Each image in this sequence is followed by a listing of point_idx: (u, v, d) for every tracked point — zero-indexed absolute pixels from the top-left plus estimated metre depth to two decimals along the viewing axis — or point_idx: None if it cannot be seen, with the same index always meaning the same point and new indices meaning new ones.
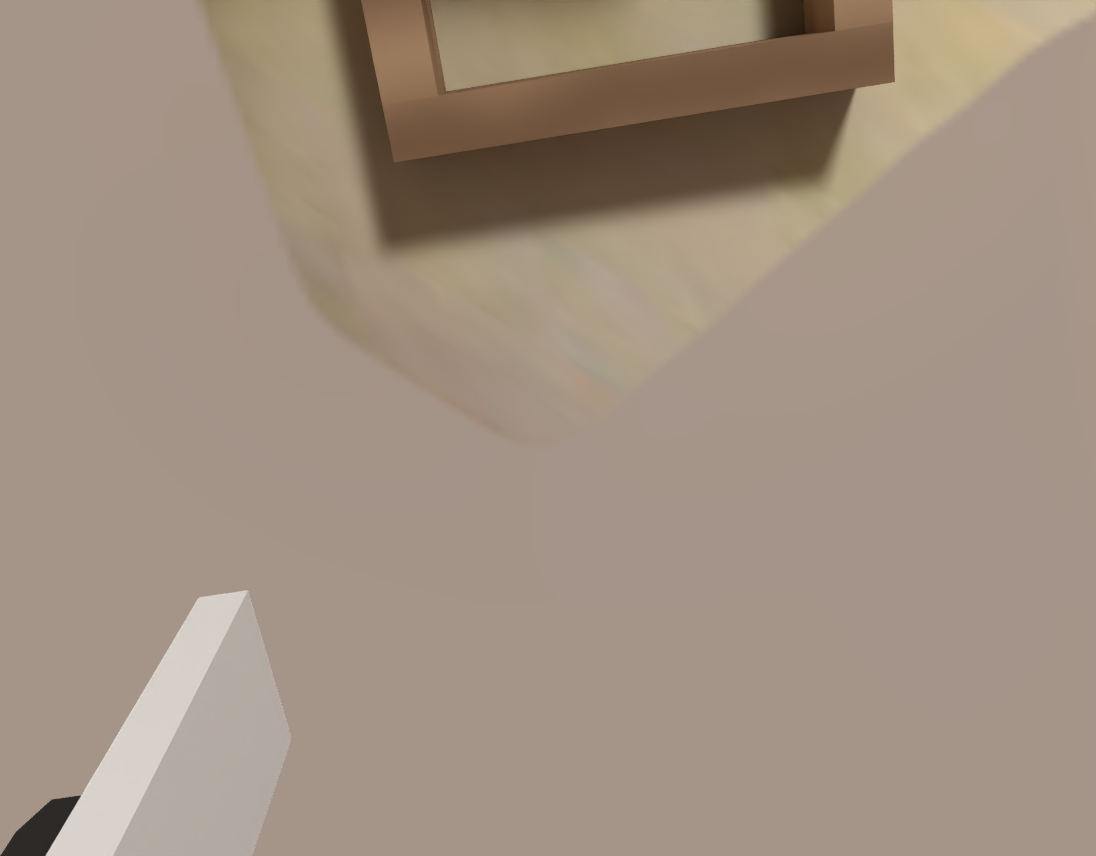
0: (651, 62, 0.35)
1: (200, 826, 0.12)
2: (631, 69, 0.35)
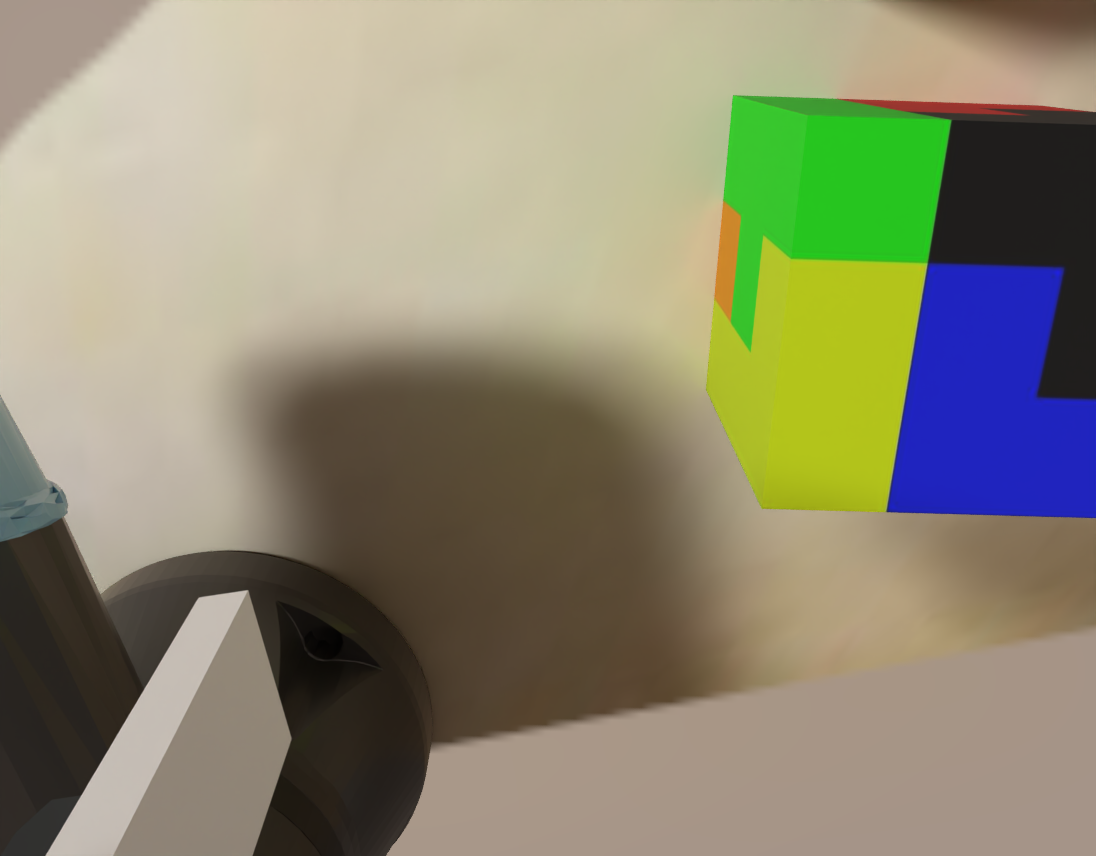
0: None
1: (200, 826, 0.12)
2: None
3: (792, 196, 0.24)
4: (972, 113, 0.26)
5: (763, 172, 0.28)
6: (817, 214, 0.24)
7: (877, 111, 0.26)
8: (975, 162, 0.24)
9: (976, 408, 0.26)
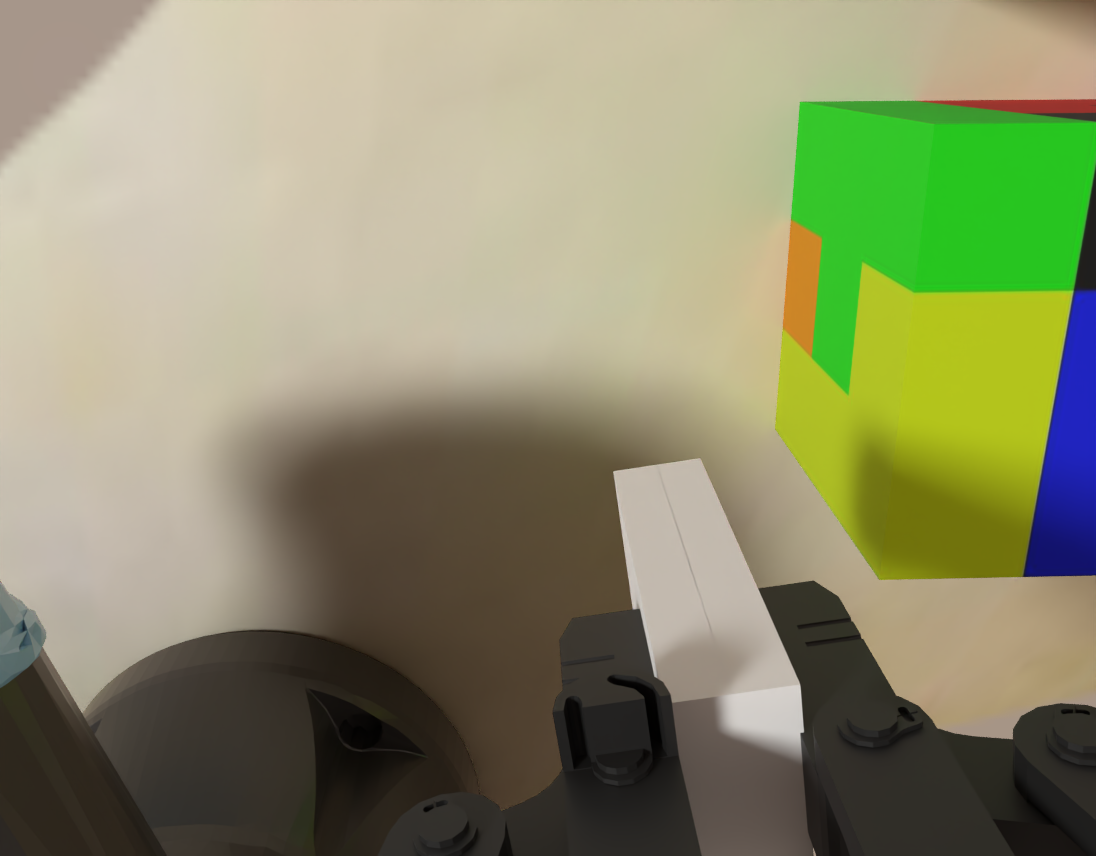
0: None
1: None
2: None
3: (912, 219, 0.21)
4: None
5: (858, 189, 0.24)
6: (945, 240, 0.20)
7: (996, 115, 0.22)
8: None
9: None
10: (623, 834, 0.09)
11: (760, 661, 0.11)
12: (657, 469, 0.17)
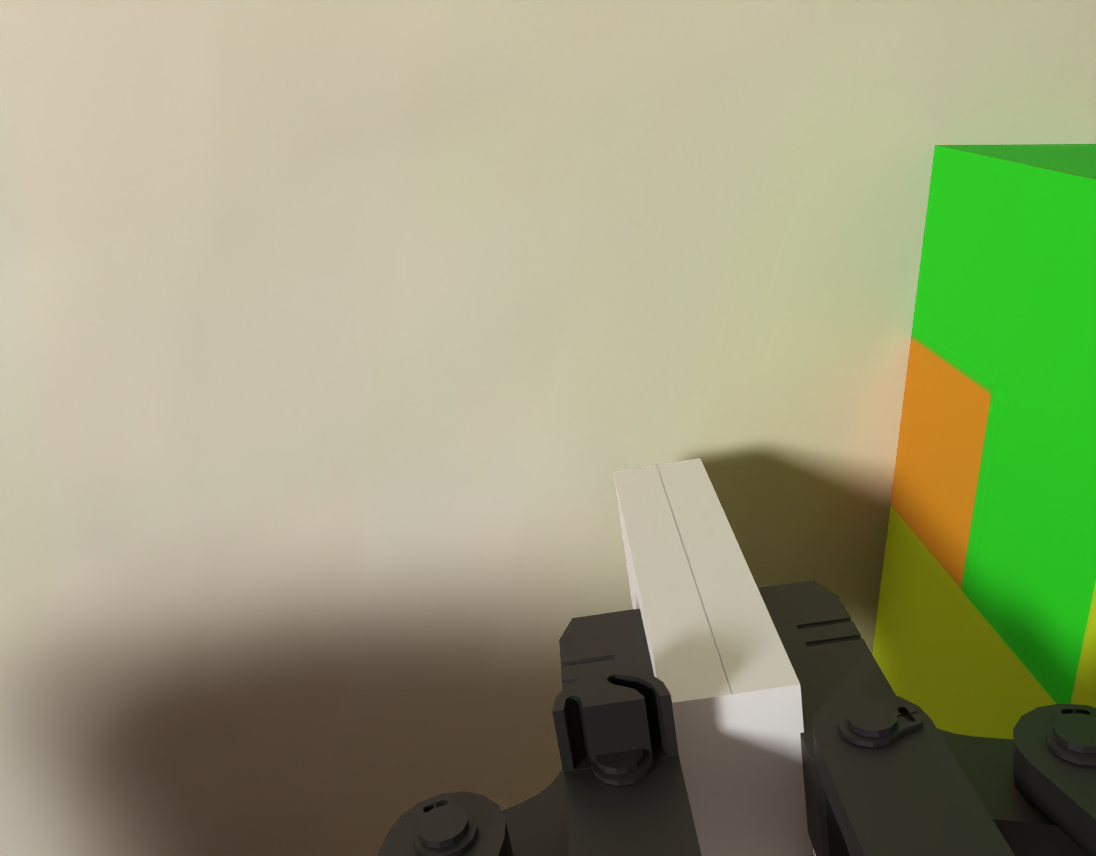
0: None
1: None
2: None
3: None
4: None
5: None
6: None
7: None
8: None
9: None
10: (623, 834, 0.09)
11: (760, 661, 0.11)
12: (657, 469, 0.17)
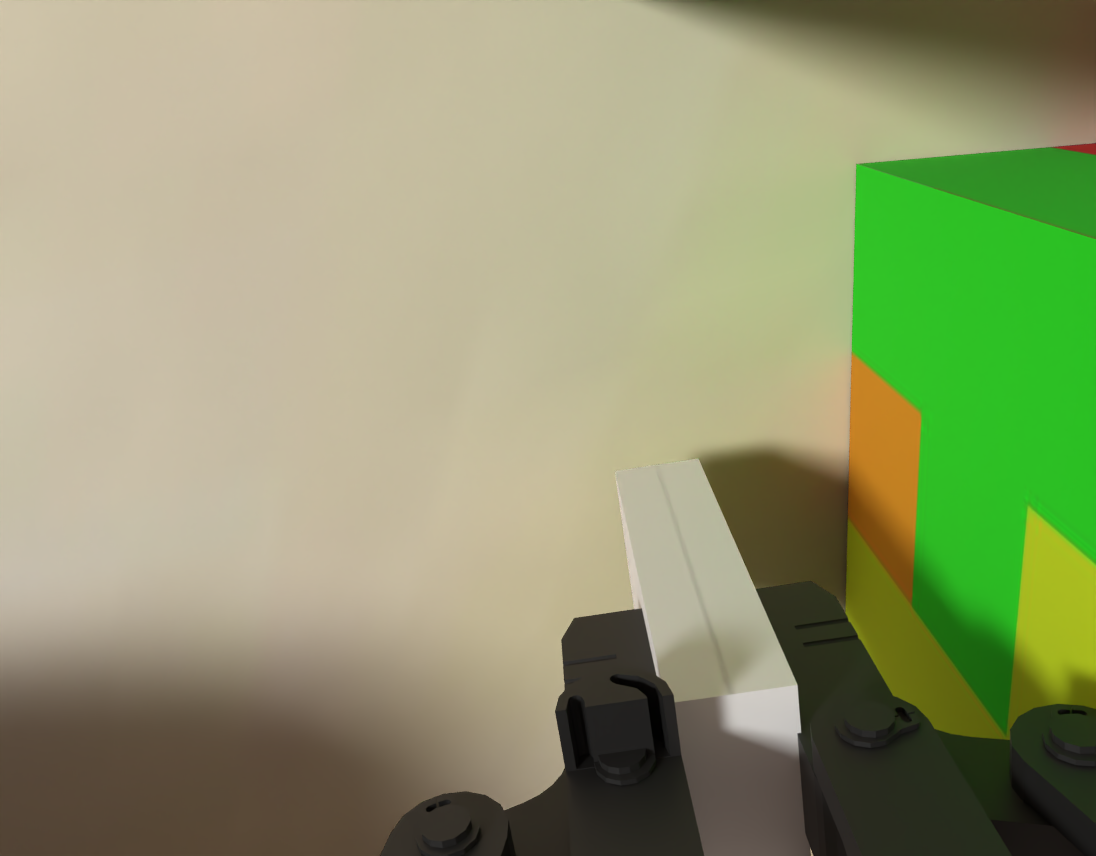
0: None
1: None
2: None
3: None
4: None
5: (1007, 360, 0.12)
6: None
7: None
8: None
9: None
10: (625, 834, 0.09)
11: (757, 662, 0.11)
12: (655, 469, 0.17)
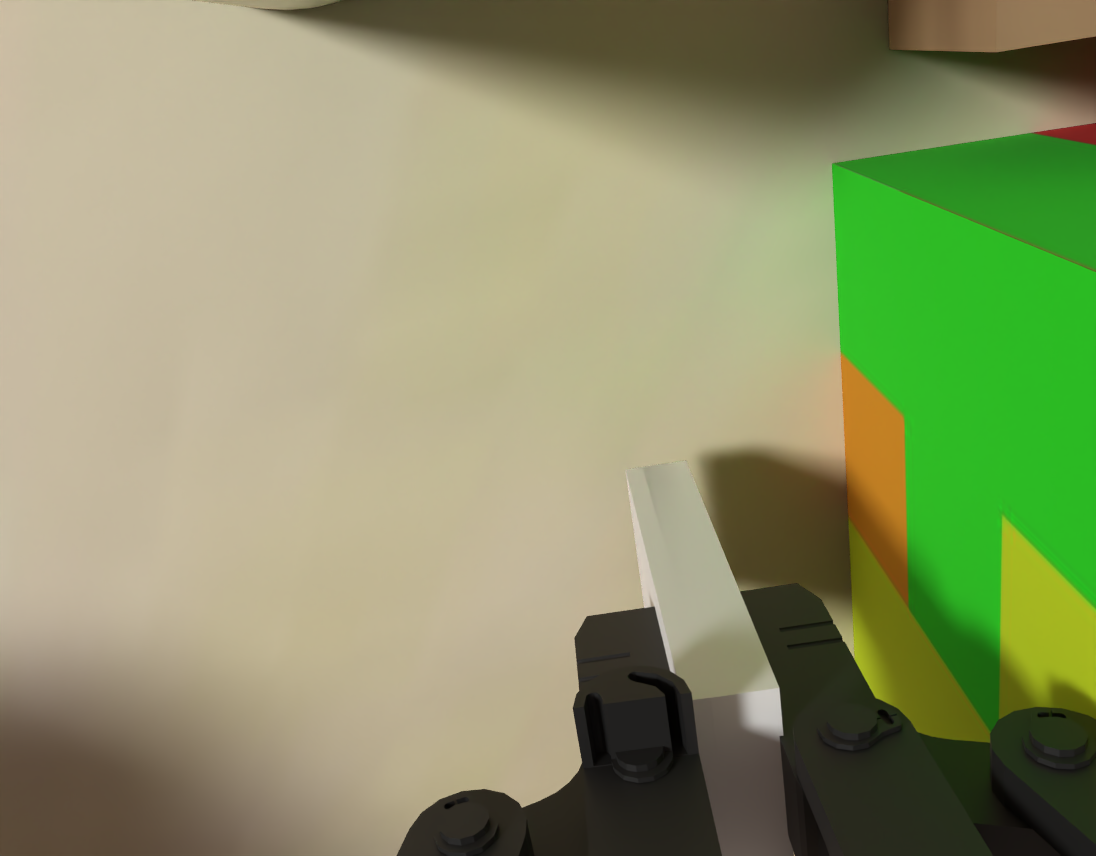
0: None
1: None
2: None
3: None
4: None
5: (974, 368, 0.12)
6: None
7: None
8: None
9: None
10: (643, 831, 0.09)
11: (740, 664, 0.11)
12: (643, 472, 0.17)
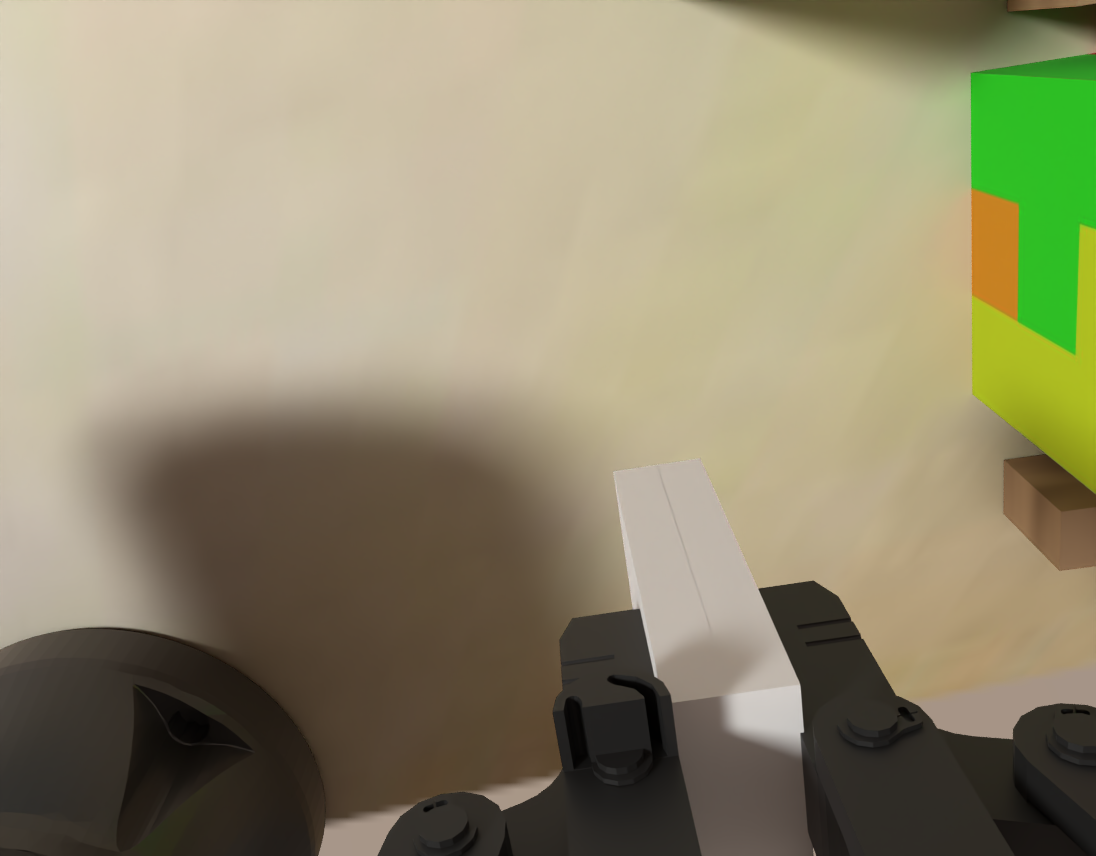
0: None
1: None
2: None
3: None
4: None
5: (1065, 154, 0.25)
6: None
7: None
8: None
9: None
10: (623, 834, 0.09)
11: (760, 661, 0.11)
12: (657, 469, 0.17)
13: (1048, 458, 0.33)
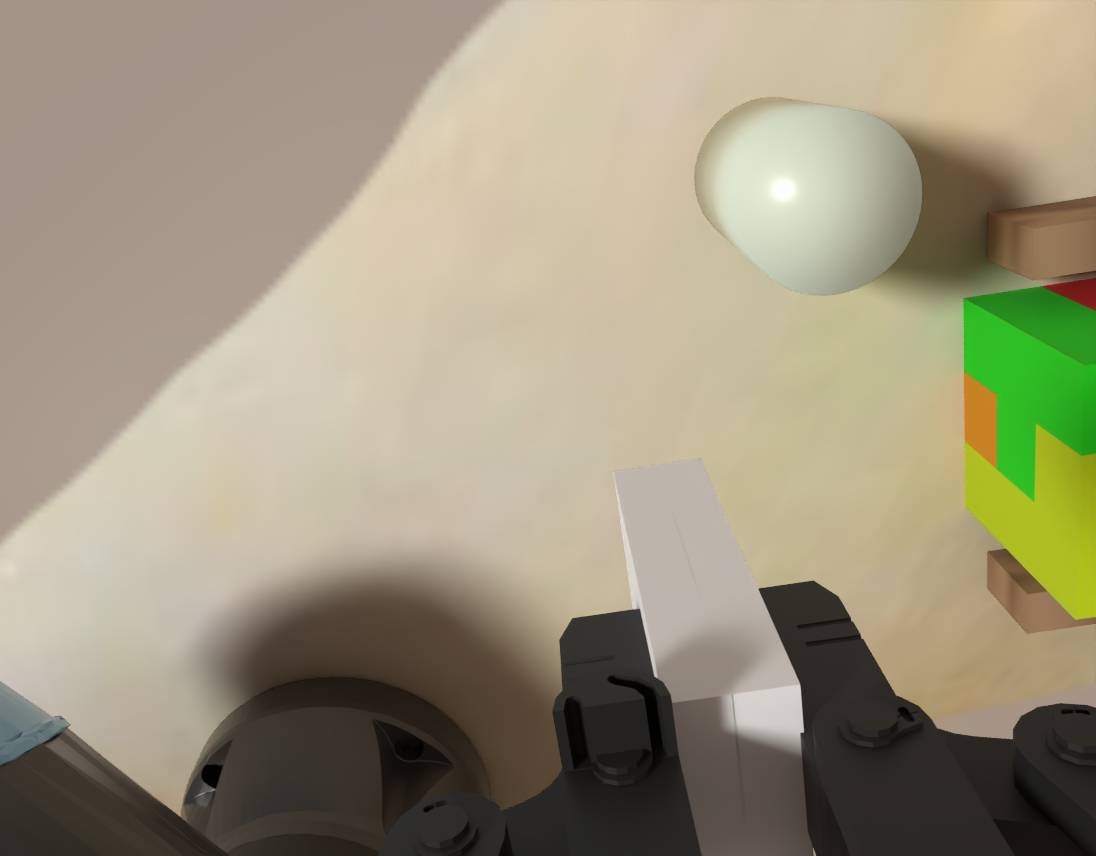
0: None
1: None
2: None
3: (1074, 412, 0.35)
4: None
5: (1026, 377, 0.39)
6: None
7: None
8: None
9: None
10: (623, 834, 0.09)
11: (760, 661, 0.11)
12: (657, 469, 0.17)
13: None
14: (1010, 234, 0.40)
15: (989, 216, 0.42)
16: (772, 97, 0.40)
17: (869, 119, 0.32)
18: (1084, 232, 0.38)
